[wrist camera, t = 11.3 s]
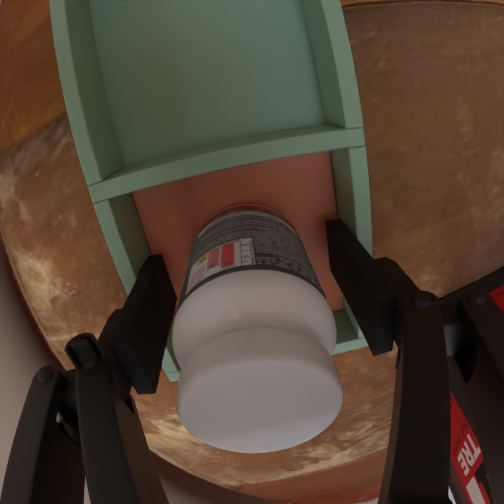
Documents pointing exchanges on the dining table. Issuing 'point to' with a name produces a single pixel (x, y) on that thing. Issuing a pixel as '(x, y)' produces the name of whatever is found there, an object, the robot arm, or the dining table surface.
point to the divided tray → (215, 126)
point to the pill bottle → (254, 336)
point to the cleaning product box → (469, 420)
